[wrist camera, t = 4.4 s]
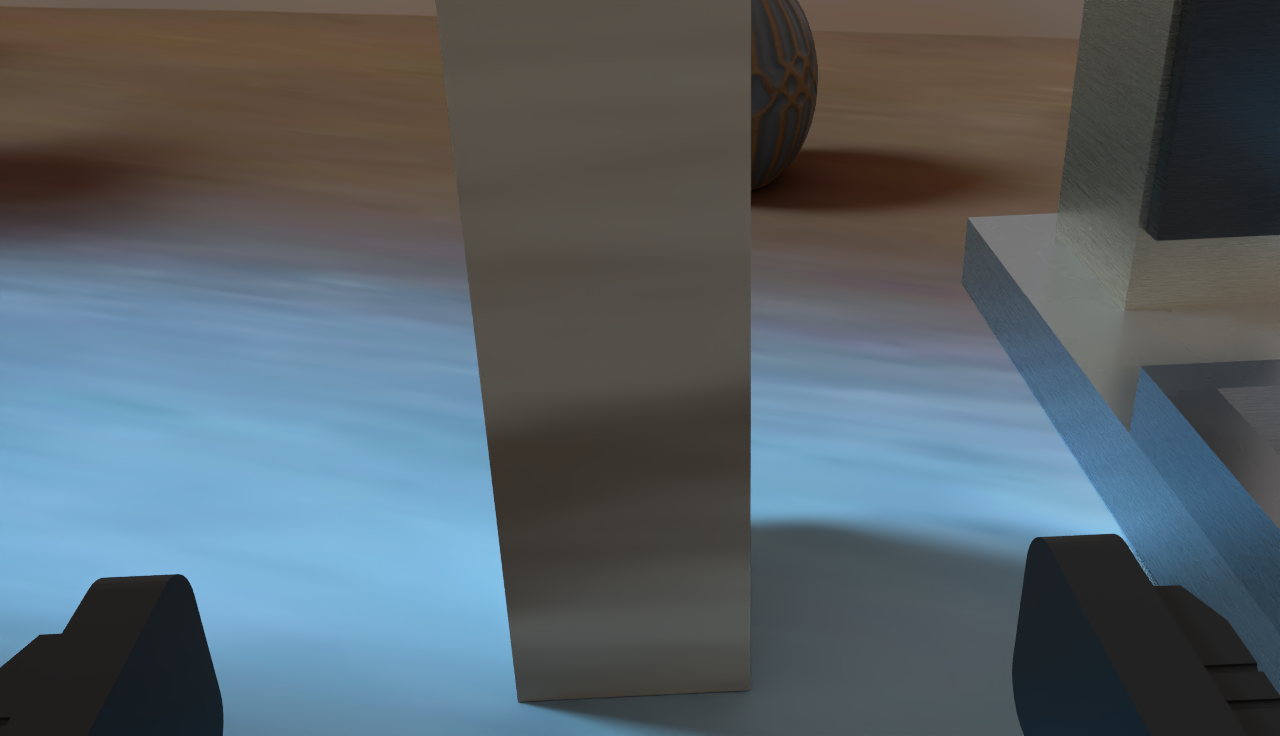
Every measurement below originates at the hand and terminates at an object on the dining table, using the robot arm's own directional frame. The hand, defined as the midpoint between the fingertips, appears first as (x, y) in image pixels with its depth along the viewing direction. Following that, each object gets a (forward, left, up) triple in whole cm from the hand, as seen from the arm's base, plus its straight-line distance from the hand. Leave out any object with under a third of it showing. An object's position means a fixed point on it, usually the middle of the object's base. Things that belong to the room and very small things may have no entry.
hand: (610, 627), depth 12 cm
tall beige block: (+6, +7, -7) cm, 11 cm away
